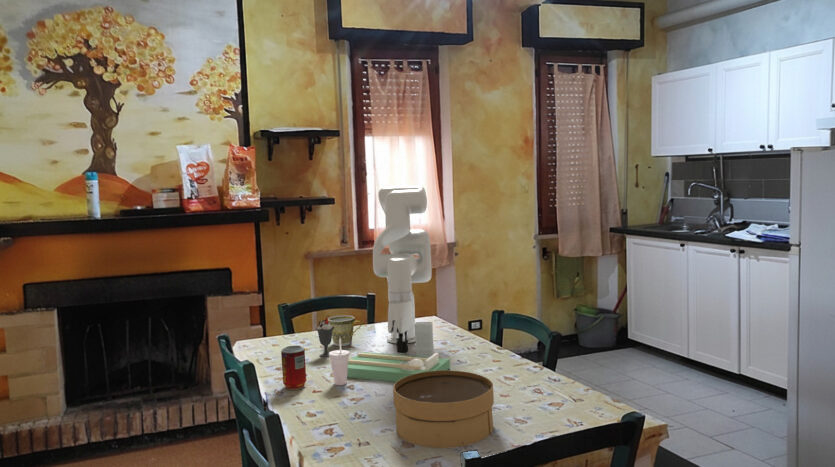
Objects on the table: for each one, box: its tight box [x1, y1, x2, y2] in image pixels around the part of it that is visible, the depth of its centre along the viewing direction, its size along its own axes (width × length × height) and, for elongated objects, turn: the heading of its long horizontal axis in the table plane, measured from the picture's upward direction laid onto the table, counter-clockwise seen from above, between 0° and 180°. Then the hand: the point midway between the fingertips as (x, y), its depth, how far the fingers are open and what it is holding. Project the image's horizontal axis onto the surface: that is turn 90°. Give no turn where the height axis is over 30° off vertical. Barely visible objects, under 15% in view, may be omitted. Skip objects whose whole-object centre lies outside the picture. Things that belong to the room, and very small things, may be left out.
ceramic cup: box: [327, 315, 362, 347], centre depth 245 cm, size 13×10×10 cm
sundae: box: [315, 314, 335, 358], centre depth 229 cm, size 7×7×15 cm
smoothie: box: [328, 339, 351, 386], centre depth 197 cm, size 6×6×14 cm
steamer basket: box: [392, 370, 495, 449], centre depth 159 cm, size 25×25×11 cm
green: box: [347, 351, 451, 383], centre depth 207 cm, size 18×32×6 cm, turn 67°
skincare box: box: [414, 321, 435, 357], centre depth 223 cm, size 6×4×12 cm
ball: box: [409, 358, 424, 367], centre depth 204 cm, size 5×5×5 cm
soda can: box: [280, 345, 307, 391], centre depth 196 cm, size 7×7×12 cm
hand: (402, 352), depth 206 cm, fingers closed
